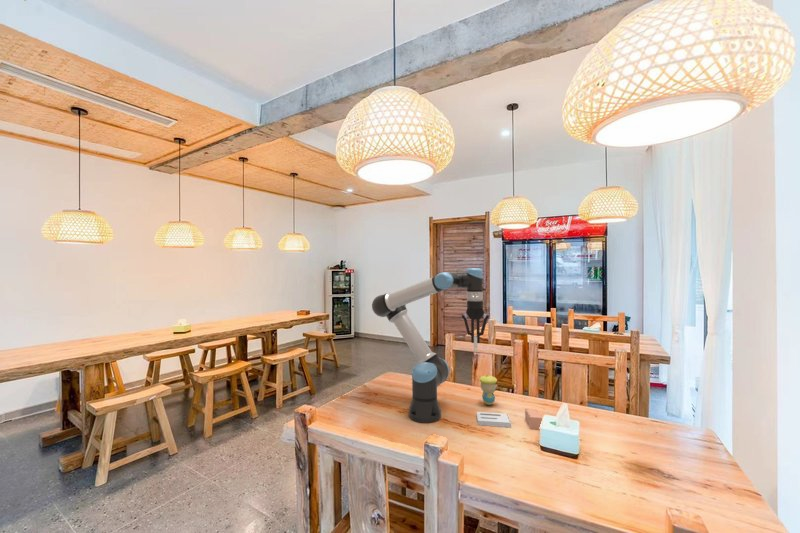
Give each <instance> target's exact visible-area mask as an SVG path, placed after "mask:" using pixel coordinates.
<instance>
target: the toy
mask: <svg viewBox="0 0 800 533" xmlns="http://www.w3.org/2000/svg"><path fill="white" fill-rule="evenodd" d="M478 380H479V382H480V389H481V391H482V393H481V394H482V395H481V397H482V401H483V402H484V404H485V405H486V406H487V405H488V406H491V405H493V403H494V402H495V399H496V396H495V393H494V392H496V391H497V387H498V384H497V382H498V379H497V378H496V377H495V376H492V375H488V374H485V375H482V376H480V377H479V378H478Z"/></svg>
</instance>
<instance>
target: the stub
mask: <svg viewBox="0 0 800 533" xmlns="http://www.w3.org/2000/svg"><path fill="white" fill-rule="evenodd" d="M524 416H525V417H524V418H525V419H524V420H525V422H526V424H527V426H528V428H529V429H530V430H539V427H540V424H541V421H542V422H543V418H542V415H541V414H540V413H539V410H538V409H537V408H524Z"/></svg>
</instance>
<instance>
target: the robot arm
mask: <svg viewBox="0 0 800 533" xmlns="http://www.w3.org/2000/svg"><path fill="white" fill-rule="evenodd" d="M483 287H484V277H483V270H482V268H478V267H477V268H476V267H475V268H467V269H466V271H465V272H445V271H443V272H440V273H438V274H436V275H435V276H432V277H430V278H428V279H425V280H422V281H420V282H418V283H415V284H411V285H410V286H407V287H405V288H403V289H400V290H397V291H394V292H392V293H390V292H386V293H384V294H379V295H378V296H376V297H375V298H374V299H373V300H372V303H371V310H372V311H373V313H374V314H375V315H376V316H377V317H381V318H387V320H388V322H389V323H392V324H394V326H395V327H396V329H397V331H398V332H399V333H400V335H401V337H402V338H403V339H404V341H405V343H406V344H407V346H408V348H409V349H410V351H411V352H412V354H413V355H414V357H415V358H416V360H417V362H418V363H417V364H415V365H414V366H413V367H412V372H411V378H412V379H411V380H412V381H411V384H412V385H411V386H412V388H411V390H412V391H411V392H412V394H411V395H412V399H411V402H410V405H409V408H408V417H409V419H410V420H413V421H414V422H417V423H423V424H429V423H435V422H438V421H439V420H440V419H441V418H442V411H441V410H442V409H441V407H440V404H439V401H438V387H439V386H440V385H442V384H443V383H444V382H446V380H447V379H448V378H449V376H450V366H449V364H448V362H447V361H446V360H445V359H444V358H440V356H439V355H438V353H436V352H433V351H432V350H431V348H430V347H429V345H428V344H427V343H426V340H424V338H423V336H422V335H421V333H420V332H419V330H418V329H417V326H415V324H414V323H413V321H412V319H411V318H410V316H409V315H408V312H409V310H408V309H407V304H411V303H412V302H413V303H414V302H416V301H419V300H421V299H424V298H426V297H429V296H432V295H434V294H437V293H440V292H443V291H446V290H450V289H466V300H467V301H466V311H465V312H464V313H463V314H461V317H462V319H463V320H464V326H465V329H466V334H467V335H468V336H471V337H470V338H471V339H470V340H471V341H470V342H471V344H473V350H474V351H478V344H480V337H481V336H484V333H485V330H486V326H487V321H488V319H489V318H490V317H489V314H486V313H485V311H484V301H483V300H484V288H483ZM482 317H483V321H482V324H481V327H480V320H481V319H482ZM467 318H469V320H470V328H469V324H468V320H467ZM475 321H476V335H475ZM480 328H481V329H480Z"/></svg>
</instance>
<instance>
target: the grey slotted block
mask: <svg viewBox="0 0 800 533" xmlns="http://www.w3.org/2000/svg"><path fill="white" fill-rule="evenodd" d="M476 420H477V421H476V422H477V426H485V427H498V428H499V427H500V428H512V422H511V420H510V416H509V413H499V412H484V411H476Z"/></svg>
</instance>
